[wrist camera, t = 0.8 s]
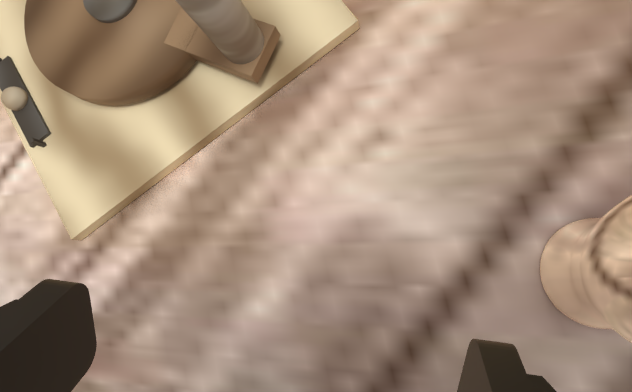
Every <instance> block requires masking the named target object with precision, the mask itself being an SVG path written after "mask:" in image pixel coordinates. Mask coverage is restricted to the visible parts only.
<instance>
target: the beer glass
mask: <svg viewBox="0 0 632 392" xmlns="http://www.w3.org/2000/svg"><path fill="white" fill-rule="evenodd" d="M540 277H541V282H542V285H543V288H544V290H545V292H546V294H547V296H548V297H549V299H550V300H551V302H552V303H553V304H554V306H555V307H556V308H557V309H558V310H559V311H561V312H562V313H563V314H564V315H565V316H567V317H568V318H570V319H572V320H573V321H575V322H577V323H580V324H582V325H585V326H589V327H593V328H598V329H613V330H614V331H616V332H617V333H618V334H619V335H621V336H622V337H623V338H624V339H626V340H627V341H629V342H630V343H632V195H630V196H629V197H627V198H626V199H624V200H623V201H621V202H620V203H619V204H617V205H616V206H614V207H613V208H612V209H611V210H609V211H608V212H607V213H606V214H605V215H604V216H603V217H602V218H587V219H582V220H578V221H575V222H572V223H570V224H567V225H566V226H564V227H562V228H561V229H559V230H558V231H557V232H556V233H555V234H554V235H553V236H552V237H551V238H550V239H549V241H548V242H547V244H546V246H545V248H544V250H543V253H542V256H541V260H540Z"/></svg>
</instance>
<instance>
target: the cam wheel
mask: <svg viewBox="0 0 632 392" xmlns="http://www.w3.org/2000/svg"><path fill="white" fill-rule="evenodd" d="M24 30H25V37H26V42H27V46H28V49H29V52H30V54H31V57H32V59H33V61H34V63H35V64H36V66H37V67H38V69H39V70H40V72H41V73H42V74H43V75H44V76H45V77H46V78H47V79H48V80H49V81H50V82H52V83H53V84H54V85H55V86H57V87H59V88H61V89H62V90H64V91H66V92H68V93H70V94H72V95H74V96H76V97H78V98H80V99H82V100H84V101H87V102H90V103H93V104H98V105H104V106H120V105H128V104H132V103H136V102H140V101H143V100H145V99H148V98H151V97H153V96H155V95H157V94H159V93H160V92H162V91H164V90H166V89H167V88H168V87H170V86H171V85H173V84H174V83H176V82H177V81H178V80H179V79H180V78H181V77H182V76H183V75H185V74H186V73H187V72H188V70H189V69H190V68H191V67H192V66H193V65H194V64H195V63H196V61H200V62H202V63H205V64H208V65H210V66H213V67H215V68H218V69H221V70H223V71H226V72H228V73H231V74H234V75H236V76H239V77H241V78H244V79H246V80H249V81H252V82H254V83H257V84H258V82H259V80H260V78H261V76H262V74H263V71H264V69H265V67H266V65H267V63H268V61H269V59H270V57H271V55H272V53H273V51H274V49H275V46H276V44H277V42H278V40H279V38H280V36H281V35H280V33H279V32H278V30H277V28H276V26H274V25H271V24H268V23H265V22H262V21H259V20H256V19H253V18H252V16H251V15H250V13H249V12H248V10H247V9H246V7H245V6H244V4H243V3H242V1H241V0H26V5H25V14H24Z"/></svg>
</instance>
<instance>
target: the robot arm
mask: <svg viewBox="0 0 632 392" xmlns="http://www.w3.org/2000/svg"><path fill="white" fill-rule="evenodd" d="M95 352H96V335H95V328H94V321H93V315H92V308H91V302H90V295H89V291H88V288H87V287H86V286H85V285H84V284H81V283H74V282H67V281H60V280H52V279H46V280H43V281H42V282H40V283H39V284H37V285H36V286H35V287H34V288H32V289H31V290H30V291H29V292H28V293H26V294H25V295H24V296H23V297H21V298H20V299H19V300H14V301H12V302H10V303H8V304H5V305H3V306H1V307H0V392H71V391H72V390H73V388H74V387H75V386H76V385H77V383H78V382H79V381H80V380H81V378H82V377H83V376H84V375H85V373H86V372H87V371H88V369H89V368H90V366H91V364H92V361H93V359H94V356H95ZM457 392H556V391H555V390H554V389H553V387H552V386H551V385H550V384H549V383H548V382H547V381H546V380H545V379H544V378H543V377H542V376H537V375H530V374H526V371H525V369H524V366H523V364H522V362H521V359H520V357H519V354H518V352H517V349H516V348H515V346H514V345H513V344H508V343H500V342H493V341H486V340H479V339H472V340H471V342H470V344H469V347H468V350H467V354H466V358H465V362H464V366H463V370H462V374H461V378H460V382H459V386H458V390H457Z"/></svg>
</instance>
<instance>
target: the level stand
mask: <svg viewBox="0 0 632 392" xmlns="http://www.w3.org/2000/svg"><path fill="white" fill-rule="evenodd" d="M241 1H242V3H243V4H244V6H245V7H246V9H247V10H248V12H249V13H250V15H251V16H252V18H253V19H256V20H259V21H262V22H265V23H268V24H271V25H274V26H276V28H277V30H278V32H279V33H280V35H281V36H280V38H279V40H278V42H277V44H276V46H275V49H274V51H273V53H272V55H271V57H270V59H269V61H268V63H267V65H266V67H265V69H264V71H263V74H262V76H261V78H260V80H259V82H258V84H257V83H254V82H252V81H249V80H246V79H244V78H241V77H239V76H236V75H234V74H231V73H228V72H226V71H223V70H221V69H218V68H215V67H213V66H210V65H208V64H205V63H202V62H200V61H196V63H195V64H194V65H193V66H192V67H191V68H190V69H189V70H188V72H187V73H186V74H185V75H183V76H182V77H181V78H180V79H179V80H178V81H177V82H176V83H174V84H173V85H171V86H170V87H168V88H167V89H166V90H164V91H162V92H160V93H159V94H157V95H155V96H153V97H151V98H148V99H145V100H143V101H140V102H136V103H132V104H128V105H120V106H104V105H98V104H93V103H90V102H87V101H84V100H82V99H80V98H78V97H76V96H74V95H72V94H70V93H68V92H66V91H64V90H62V89H61V88H59V87H57V86H55V85H54V84H53V83H52V82H50V81H49V80H48V79H47V78H46V77H45V76H44V75H43V74H42V73H41V72H40V70H39V69H38V67H37V66H36V64H35V63H34V61H33V59H32V57H31V54H30V52H29V49H28V46H27V42H26V37H25V30H24V14H25V5H26V0H0V100H1V101H2V103H3V105H4V107H5V109H6V111H7V113H8V115H9V117H10V119H11V121H12V123H13V125H14V127H15V129H16V131H17V133H18V135H19V137H20V139H21V141H22V143H23V145H24V147H25V149H26V151H27V153H28V155H29V157H30V159H31V161H32V163H33V165H34V167H35V169H36V171H37V173H38V175H39V177H40V179H41V180H42V182H43V184H44V186H45V188H46V190H47V192H48V194H49V196H50V198H51V200H52V202H53V204H54V206H55V208H56V210H57V212H58V214H59V216H60V218H61V220H62V222H63V224H64V226H65V228H66V230H67V232H68V234H69V236H70V238H71V239H72V240H83V239H84V238H85V237H87V236H88V235H89V234H91V233H92V232H93V231H94V230H96V229H97V228H98V227H100V226H101V225H102V224H104V223H105V222H106V221H108V220H109V219H110V218H112V217H113V216H114V215H115V214H117V213H118V212H119V211H121V210H122V209H123V208H125V207H126V206H127V205H129V204H130V203H131V202H133V201H134V200H135V199H136V198H138V197H139V196H140V195H142V194H143V193H144V192H146V191H147V190H148V189H150V188H151V187H152V186H154V185H155V184H156V183H157V182H159V181H160V180H161V179H163V178H164V177H165V176H167V175H168V174H169V173H171V172H172V171H173V170H175V169H176V168H177V167H178V166H180V165H181V164H182V163H184V162H185V161H186V160H188V159H189V158H190V157H192V156H193V155H194V154H196V153H197V152H198V151H199V150H201V149H202V148H203V147H205V146H206V145H207V144H209V143H210V142H211V141H213V140H214V139H215V138H217V137H218V136H219V135H220V134H222V133H223V132H224V131H226V130H227V129H228V128H230V127H231V126H232V125H234V124H235V123H236V122H237V121H239V120H240V119H241V118H243V117H244V116H245V115H247V114H248V113H249V112H251V111H252V110H253V109H255V108H256V107H257V106H258V105H260V104H261V103H262V102H264V101H265V100H266V99H268V98H269V97H270V96H272V95H273V94H274V93H276V92H277V91H278V90H279V89H281V88H282V87H283V86H285V85H286V84H287V83H289V82H290V81H291V80H293V79H294V78H295V77H297V76H298V75H299V74H300V73H302V72H303V71H304V70H306V69H307V68H308V67H310V66H311V65H312V64H314V63H315V62H316V61H318V60H319V59H320V58H321V57H323V56H324V55H325V54H327V53H328V52H329V51H331V50H332V49H333V48H335V47H336V46H337V45H339V44H340V43H341V42H342V41H344V40H345V39H346V38H348V37H349V36H350V35H352V34H353V33H354V32H356V31H357V30H358V29H360V27H359V23H358V20H357V19H356V17H355V16H354V15H353V14H352V13H351V11H350V10H349V9H348V8H347V7H346V5H345V4H344V3H343V2H342V1H341V0H241Z"/></svg>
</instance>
